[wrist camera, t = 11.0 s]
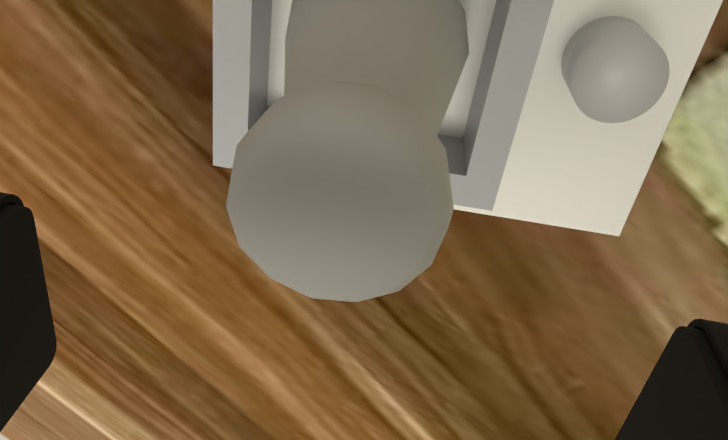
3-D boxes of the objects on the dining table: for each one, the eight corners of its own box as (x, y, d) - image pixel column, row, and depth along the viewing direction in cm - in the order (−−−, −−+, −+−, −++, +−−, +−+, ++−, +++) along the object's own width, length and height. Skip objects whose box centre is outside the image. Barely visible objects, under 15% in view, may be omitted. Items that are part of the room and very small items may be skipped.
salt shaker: (266, 1, 22) (101, 186, 11) (403, -106, 20) (365, -6, 9) (364, 129, 24) (307, 388, 13) (496, 47, 22) (557, 276, 11)
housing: (777, -161, 19) (851, -155, 15) (613, 222, 26) (639, 281, 23) (251, -244, 19) (212, -257, 16) (240, 162, 27) (213, 212, 23)
